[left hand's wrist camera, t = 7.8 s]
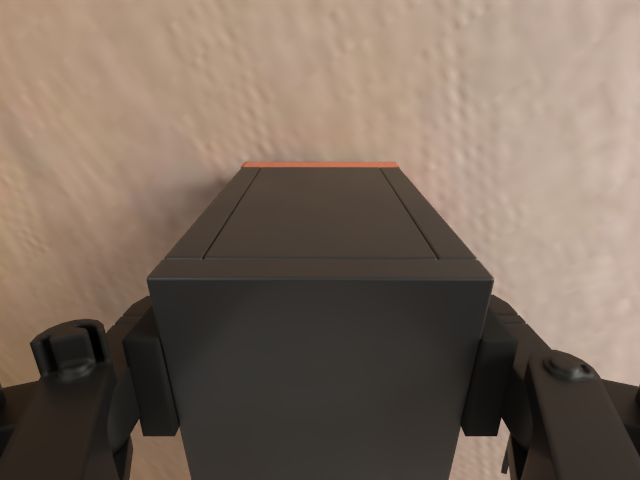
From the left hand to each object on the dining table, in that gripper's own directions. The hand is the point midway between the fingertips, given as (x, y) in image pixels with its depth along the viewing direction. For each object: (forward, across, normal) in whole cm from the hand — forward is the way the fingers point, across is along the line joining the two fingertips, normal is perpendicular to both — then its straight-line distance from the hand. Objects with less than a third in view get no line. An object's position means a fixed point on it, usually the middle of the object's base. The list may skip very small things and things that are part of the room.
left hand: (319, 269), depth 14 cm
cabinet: (+5, 0, -5) cm, 7 cm away
